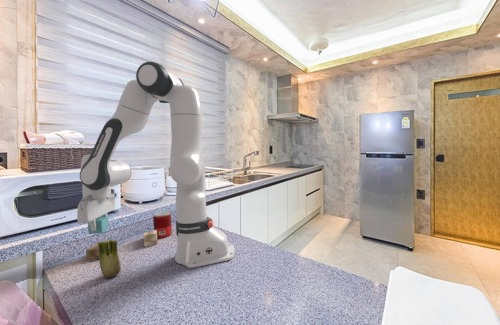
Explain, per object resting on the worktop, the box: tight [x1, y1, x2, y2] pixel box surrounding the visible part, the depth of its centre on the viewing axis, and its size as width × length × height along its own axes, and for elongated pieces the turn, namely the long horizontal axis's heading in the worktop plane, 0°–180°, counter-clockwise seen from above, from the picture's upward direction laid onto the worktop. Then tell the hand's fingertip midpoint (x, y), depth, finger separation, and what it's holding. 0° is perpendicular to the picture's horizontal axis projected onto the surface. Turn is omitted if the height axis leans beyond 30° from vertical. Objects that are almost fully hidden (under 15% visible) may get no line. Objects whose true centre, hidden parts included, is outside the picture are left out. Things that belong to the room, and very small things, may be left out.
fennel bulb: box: [98, 239, 122, 279], centre depth 73 cm, size 6×5×12 cm
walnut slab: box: [85, 241, 109, 260], centre depth 89 cm, size 7×7×4 cm
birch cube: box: [143, 229, 158, 248], centre depth 98 cm, size 5×5×5 cm
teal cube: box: [87, 216, 110, 235], centre depth 89 cm, size 5×5×5 cm
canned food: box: [152, 210, 173, 239], centre depth 107 cm, size 8×8×11 cm
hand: (99, 227), depth 89 cm, fingers closed on teal cube, 5 cm apart
